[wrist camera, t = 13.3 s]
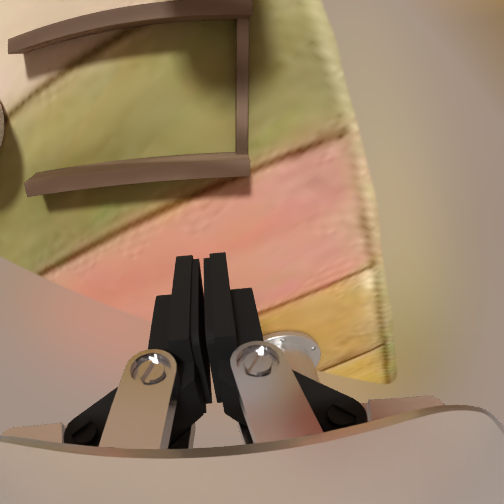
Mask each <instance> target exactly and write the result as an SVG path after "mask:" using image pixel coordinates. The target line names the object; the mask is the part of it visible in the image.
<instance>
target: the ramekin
mask: <svg viewBox="0 0 504 504" xmlns="http://www.w3.org/2000/svg"><path fill="white" fill-rule="evenodd" d="M3 136H4V115H3V110H2V106H1V104H0V147H1V144H2V141H3Z"/></svg>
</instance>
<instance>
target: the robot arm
mask: <svg viewBox="0 0 504 504" xmlns="http://www.w3.org/2000/svg"><path fill="white" fill-rule="evenodd" d="M320 356H321V353H320V348H319V346H318V344H317V342H316V341H315V340H314V339H313V338H312V337H311V336H309V335H307V334H304V333H301V332H295V331H282V332H276V333H271V334H268V335H265V336H262V331H261V327H260V322H259V318H258V313H257V309H256V304H255V300H254V295H253V291H252V288H243V289H232V290H230V285H229V277H228V269H227V261H226V253H225V252H223V253H212V254H210V258H204V293H203V286H202V278H201V270H200V262H199V259H193V256H192V255H189V256H177V257H176V263H175V271H174V279H173V288H172V295H160V296H157V297H156V300H155V306H154V312H153V319H152V325H151V333H150V339H149V346H148V350H145V351H141V352H139V353H138V354H136V355H134V356H133V357H132V358H131V359H130V360H129V361H128V363H127V365H126V367H125V369H124V372H123V375H122V378H121V380H120V383H119V386H118V387H117V388H116V389H114V390H113V391H111V392H110V393H109V394H107V395H106V396H105V397H103V398H102V399H100V400H99V401H98V402H96V403H95V404H93V405H92V406H91V407H89V408H88V409H87V410H85V411H84V412H82V413H81V414H80V415H78V416H77V417H76V418H74V419H73V420H72V421H71V422H70V423H69V424H68V425H63V424H62V423H54V424H44V425H33V426H22V427H12V428H9V429H8V430H6V431H5V432H3V434H2V435H0V504H504V426H503V425H502V423H501V422H500V421H499V420H498V419H497V418H496V417H495V416H494V415H493V414H491V413H490V412H488V411H487V410H485V409H482V408H480V407H474V406H468V405H445V404H444V403H443V402H442V401H441V400H440V399H438V398H435V397H433V396H417V397H406V398H391V399H373V400H369V401H368V403H359V402H358V401H356V400H355V399H353V398H351V397H349V396H347V395H344V394H342V393H340V392H338V391H336V390H334V389H331V388H329V387H327V386H325V385H323V384H321V383H320V381H319V378H318V375H317V372H316V369H315V368H316V366H317V365H318V363H319V360H320ZM210 367H211V372H212V378H213V383H214V389H215V394H216V399H217V403H221V402H223V407H224V412H225V414H227V415H228V416H230V417H231V418H233V419H235V420H236V421H237V422H238V428H239V431H240V434H241V437H242V440H243V443H244V445H236V446H225V447H213V448H195V449H194V448H193V441H194V435H195V422H196V421H197V420H198V419H199V418H200V417H201V416H203V413H206V404H208V403H212V393H211V379H210V378H211V377H210Z"/></svg>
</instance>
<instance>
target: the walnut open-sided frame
mask: <svg viewBox="0 0 504 504" xmlns="http://www.w3.org/2000/svg"><path fill="white" fill-rule="evenodd" d="M252 10H253V0H178V1H166V2H157V3H149V4H141V5H134V6H128V7H122V8H116V9H111V10H106V11H101V12H96V13H92V14H88V15H83V16H79V17H75V18H72V19H68V20H64V21H61V22H57V23H54V24H51V25H47V26H44V27H41V28H38V29H35V30H32V31H29V32H27V33H24V34H21V35H18V36H16V37H13V38H11V39H8V54H23V53H26V52H29V51H32V50H35V49H38V48H42V47H45V46H48V45H52V44H55V43H59V42H62V41H66V40H70V39H74V38H78V37H82V36H87V35H91V34H96V33H101V32H106V31H111V30H117V29H123V28H129V27H136V26H143V25H151V24H160V23H170V22H182V21H199V20H236V152H225V153H204V154H187V155H173V156H160V157H149V158H139V159H129V160H120V161H112V162H104V163H96V164H89V165H82V166H75V167H68V168H62V169H56V170H50V171H44V172H39V173H36V174H35V175H33V176H32V177H31V178H30V179H28V180H27V181H26V182H25V183H24V185H25V190H26V194H27V197H31V196H38V195H44V194H51V193H58V192H65V191H73V190H80V189H88V188H97V187H105V186H115V185H124V184H135V183H146V182H157V181H170V180H184V179H200V178H219V177H242V176H250V159H249V157H248V155H247V138H248V59H249V18H250V17H251V16H252Z"/></svg>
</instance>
